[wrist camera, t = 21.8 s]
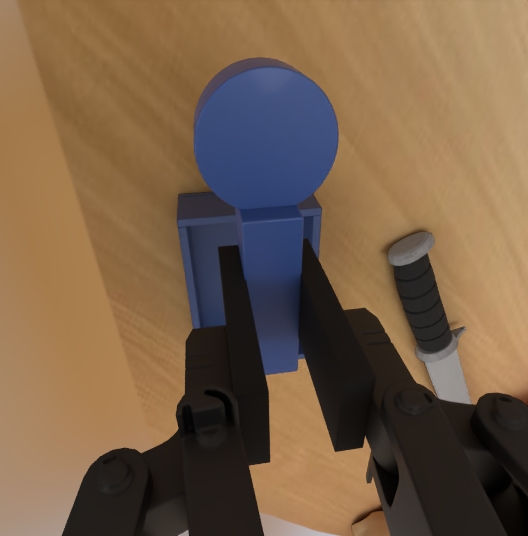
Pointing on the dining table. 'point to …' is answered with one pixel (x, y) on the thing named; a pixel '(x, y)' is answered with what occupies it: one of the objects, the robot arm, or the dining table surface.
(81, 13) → the dining table surface
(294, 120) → the blue spoon
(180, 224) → the blue bin
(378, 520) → the container
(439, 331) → the knife
